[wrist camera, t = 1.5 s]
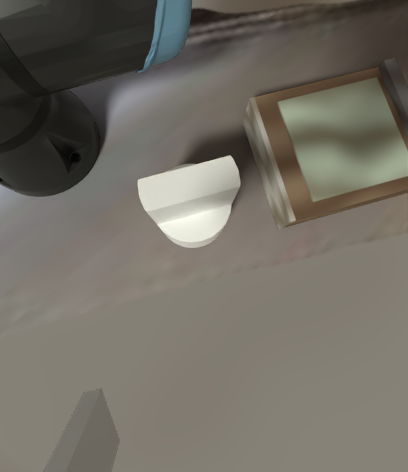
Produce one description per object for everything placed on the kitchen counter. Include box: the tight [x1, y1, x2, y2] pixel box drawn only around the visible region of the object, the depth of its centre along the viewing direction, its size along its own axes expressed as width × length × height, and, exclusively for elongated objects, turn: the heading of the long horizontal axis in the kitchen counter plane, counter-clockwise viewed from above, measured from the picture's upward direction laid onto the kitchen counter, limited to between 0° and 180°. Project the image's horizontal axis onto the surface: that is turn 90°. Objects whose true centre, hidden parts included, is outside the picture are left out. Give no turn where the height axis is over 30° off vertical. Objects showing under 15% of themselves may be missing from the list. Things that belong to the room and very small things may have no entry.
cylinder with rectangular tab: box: [138, 155, 241, 248], centre depth 28 cm, size 9×9×12 cm
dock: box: [243, 58, 408, 229], centre depth 33 cm, size 16×19×6 cm
